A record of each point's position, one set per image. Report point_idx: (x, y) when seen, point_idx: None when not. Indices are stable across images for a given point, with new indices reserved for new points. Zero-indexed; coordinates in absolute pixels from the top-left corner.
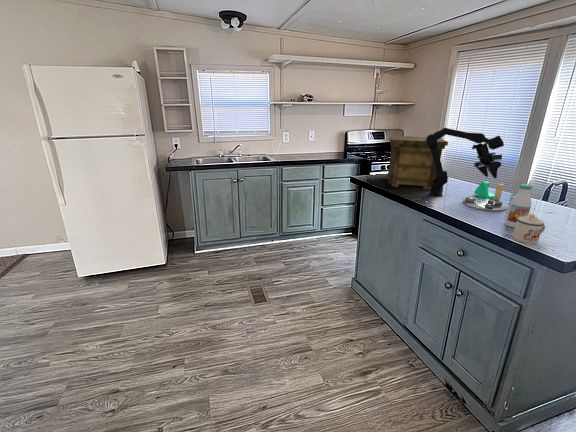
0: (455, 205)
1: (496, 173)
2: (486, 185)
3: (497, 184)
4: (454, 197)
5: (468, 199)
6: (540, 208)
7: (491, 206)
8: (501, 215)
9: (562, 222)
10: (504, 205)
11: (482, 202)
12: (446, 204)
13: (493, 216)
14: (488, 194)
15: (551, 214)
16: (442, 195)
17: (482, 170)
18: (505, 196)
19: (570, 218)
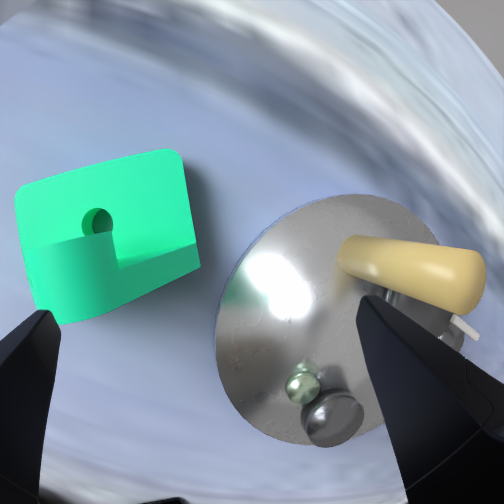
0: (357, 463)
1: (449, 357)
2: (121, 280)
3: (458, 314)
4: (180, 453)
5: (351, 434)
6: (345, 5)
7: (460, 337)
8: (481, 298)
9: (501, 94)
10: (390, 214)
11: (340, 342)
12: (341, 491)
13: (486, 336)
14: (187, 248)
15: (431, 41)
16: (174, 501)
17: (22, 478)
18: (64, 51)
19: (452, 19)
